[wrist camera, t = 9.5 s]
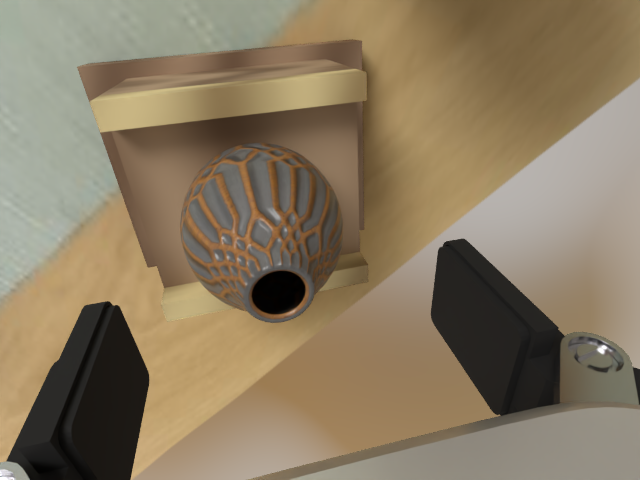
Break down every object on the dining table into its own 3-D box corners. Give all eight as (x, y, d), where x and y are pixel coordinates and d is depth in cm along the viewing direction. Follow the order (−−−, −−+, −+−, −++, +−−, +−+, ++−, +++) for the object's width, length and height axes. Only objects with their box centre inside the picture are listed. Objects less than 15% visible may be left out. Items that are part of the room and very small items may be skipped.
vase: (293, 263, 23) (332, 381, 15) (171, 235, 20) (145, 359, 13) (340, 154, 20) (413, 231, 13) (207, 106, 18) (200, 167, 10)
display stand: (351, 39, 25) (416, 47, 17) (356, 218, 32) (404, 285, 23) (87, 63, 22) (15, 86, 14) (151, 253, 29) (126, 342, 21)
